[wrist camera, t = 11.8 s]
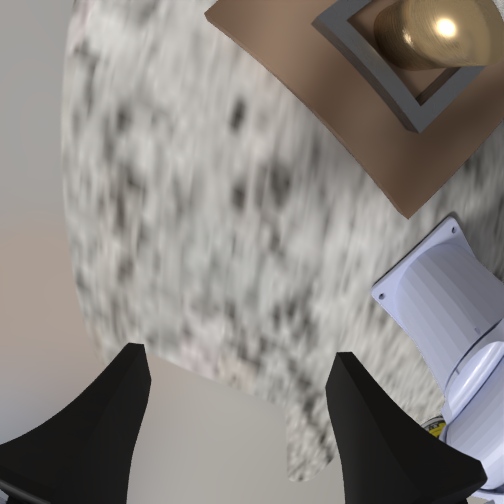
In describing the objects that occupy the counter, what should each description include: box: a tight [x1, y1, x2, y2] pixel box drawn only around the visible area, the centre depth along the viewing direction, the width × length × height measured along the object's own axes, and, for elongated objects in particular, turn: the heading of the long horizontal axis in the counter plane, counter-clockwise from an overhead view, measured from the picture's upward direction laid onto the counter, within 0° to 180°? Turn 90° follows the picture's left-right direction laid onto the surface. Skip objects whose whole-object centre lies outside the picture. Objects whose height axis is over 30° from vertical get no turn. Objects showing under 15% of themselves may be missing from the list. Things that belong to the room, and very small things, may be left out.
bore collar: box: [311, 0, 487, 134], centre depth 12 cm, size 8×8×2 cm
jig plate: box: [204, 0, 504, 219], centre depth 13 cm, size 16×14×2 cm
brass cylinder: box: [374, 0, 504, 71], centre depth 10 cm, size 4×4×6 cm
